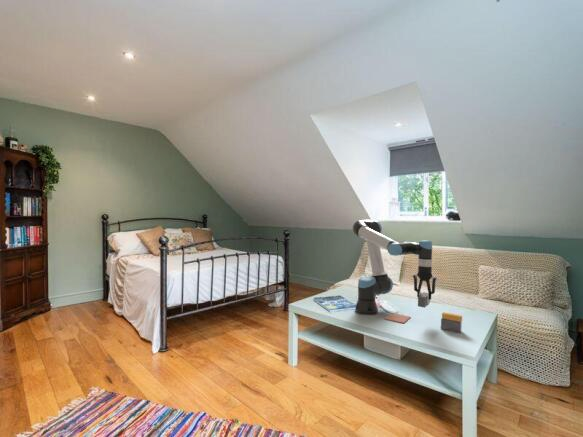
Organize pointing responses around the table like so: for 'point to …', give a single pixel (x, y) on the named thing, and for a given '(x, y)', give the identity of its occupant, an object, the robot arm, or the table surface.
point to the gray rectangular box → (451, 325)
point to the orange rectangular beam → (452, 317)
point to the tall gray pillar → (422, 300)
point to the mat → (397, 318)
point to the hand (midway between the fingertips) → (424, 303)
